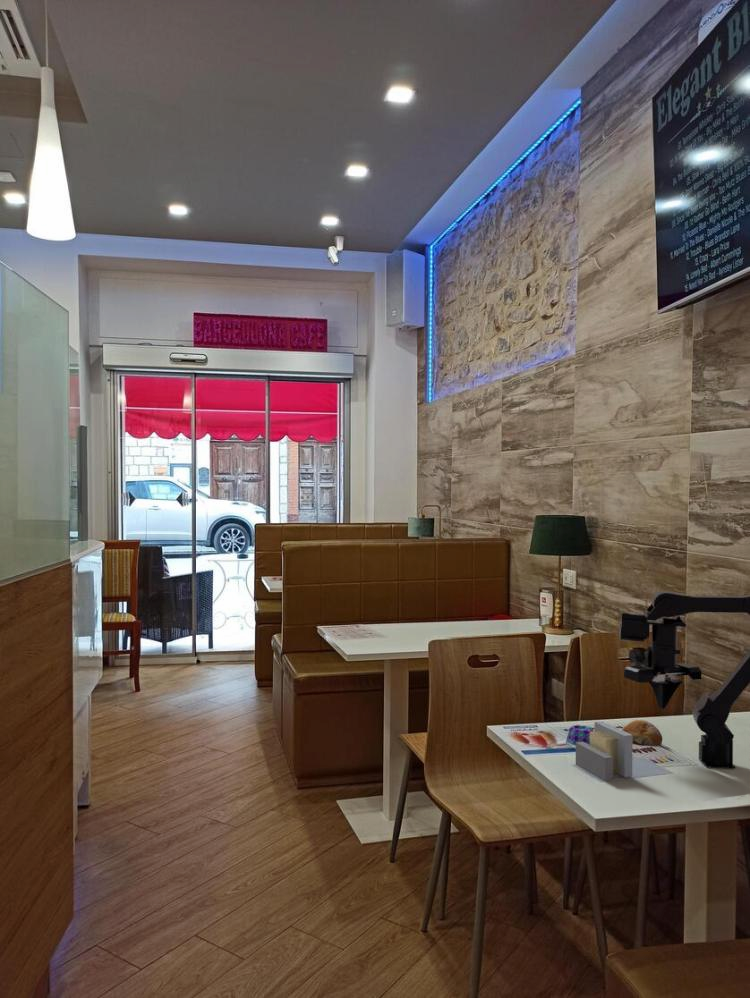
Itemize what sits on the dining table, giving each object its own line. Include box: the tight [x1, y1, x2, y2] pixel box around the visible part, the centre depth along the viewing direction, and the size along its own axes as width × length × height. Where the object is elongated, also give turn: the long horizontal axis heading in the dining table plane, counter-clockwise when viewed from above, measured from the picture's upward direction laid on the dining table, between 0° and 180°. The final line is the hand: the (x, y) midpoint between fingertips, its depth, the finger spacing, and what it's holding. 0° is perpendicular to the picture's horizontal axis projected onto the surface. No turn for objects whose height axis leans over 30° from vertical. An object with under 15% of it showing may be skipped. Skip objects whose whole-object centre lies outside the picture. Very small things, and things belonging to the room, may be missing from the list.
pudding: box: [556, 724, 594, 746], centre depth 187 cm, size 12×12×5 cm
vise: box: [571, 742, 674, 783], centre depth 167 cm, size 19×11×6 cm, turn 108°
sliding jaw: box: [594, 720, 634, 778], centre depth 166 cm, size 2×11×9 cm, turn 18°
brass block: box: [590, 730, 618, 775], centre depth 166 cm, size 3×6×8 cm, turn 18°
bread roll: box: [621, 719, 663, 748], centre depth 190 cm, size 10×10×8 cm
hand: (661, 708), depth 179 cm, fingers closed
